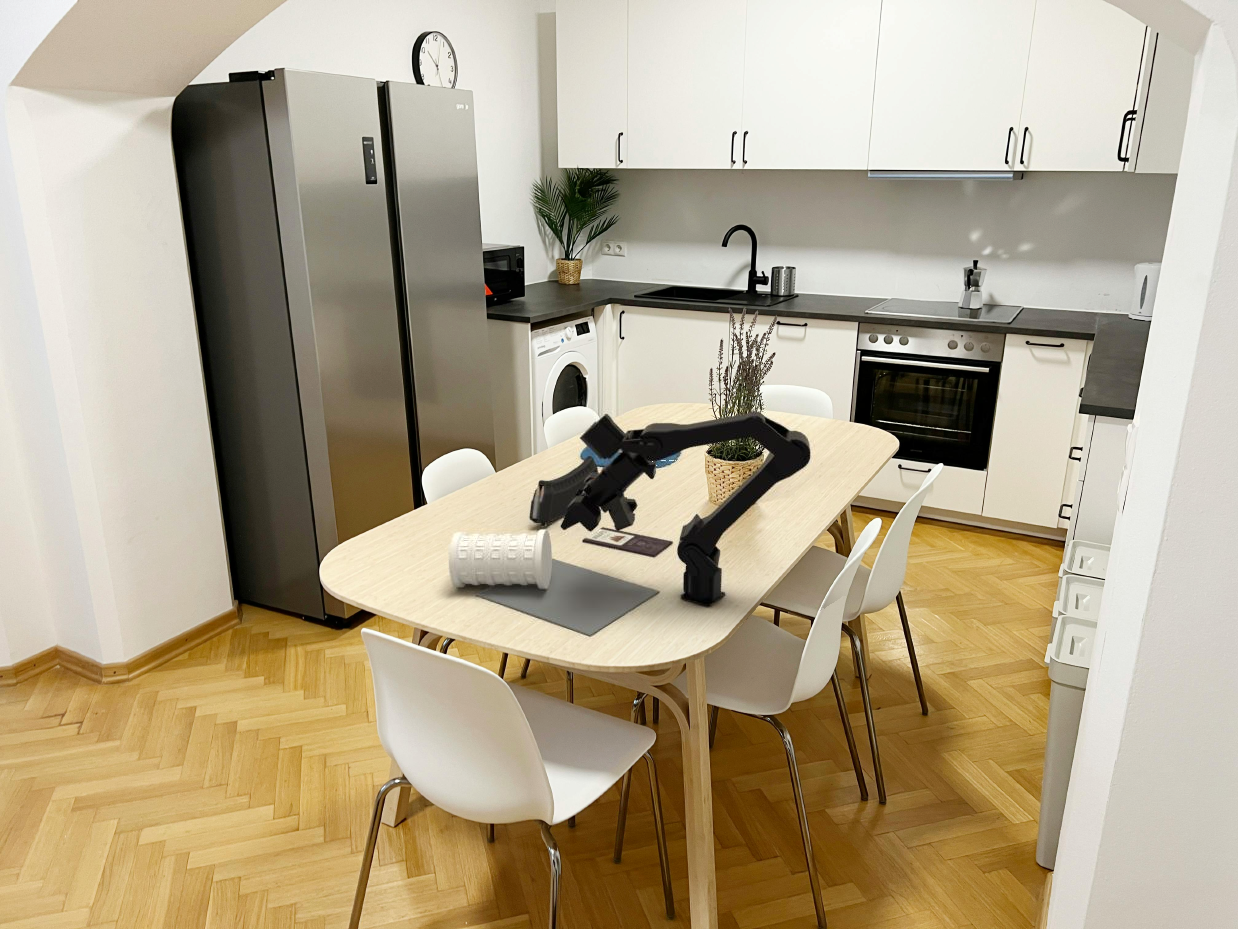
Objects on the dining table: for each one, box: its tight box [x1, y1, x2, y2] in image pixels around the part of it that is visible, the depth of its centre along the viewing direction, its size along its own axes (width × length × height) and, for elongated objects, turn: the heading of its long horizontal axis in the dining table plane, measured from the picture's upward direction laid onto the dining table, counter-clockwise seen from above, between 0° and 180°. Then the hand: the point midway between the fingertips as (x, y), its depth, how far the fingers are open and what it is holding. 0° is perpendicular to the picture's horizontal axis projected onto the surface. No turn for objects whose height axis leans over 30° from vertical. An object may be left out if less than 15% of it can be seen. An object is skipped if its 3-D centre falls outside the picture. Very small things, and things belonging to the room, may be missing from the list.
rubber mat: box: [475, 558, 660, 637], centre depth 173 cm, size 28×22×1 cm
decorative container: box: [448, 529, 553, 589], centre depth 176 cm, size 12×12×18 cm
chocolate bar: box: [581, 526, 674, 558], centre depth 198 cm, size 9×1×18 cm
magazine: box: [528, 456, 599, 527], centre depth 218 cm, size 17×3×30 cm
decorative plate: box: [580, 445, 681, 469], centre depth 263 cm, size 30×30×5 cm
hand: (562, 527), depth 172 cm, fingers closed
